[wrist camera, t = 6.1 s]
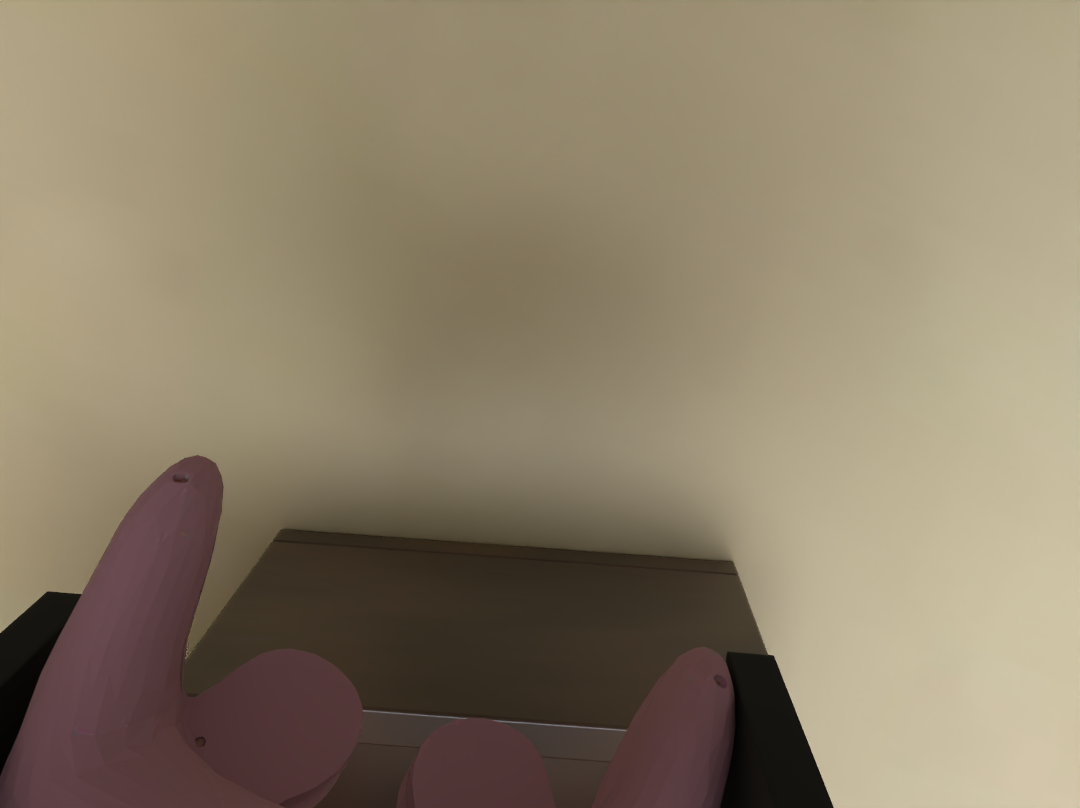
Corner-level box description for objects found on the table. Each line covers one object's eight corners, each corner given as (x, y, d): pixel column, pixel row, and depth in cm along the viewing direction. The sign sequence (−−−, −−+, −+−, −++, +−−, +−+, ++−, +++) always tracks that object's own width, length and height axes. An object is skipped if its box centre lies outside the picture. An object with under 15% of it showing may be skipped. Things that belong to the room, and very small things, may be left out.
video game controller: (147, 583, 18) (-120, 1006, 13) (166, 410, 15) (-175, 874, 10) (654, 769, 19) (598, 1243, 13) (769, 640, 16) (756, 1188, 10)
